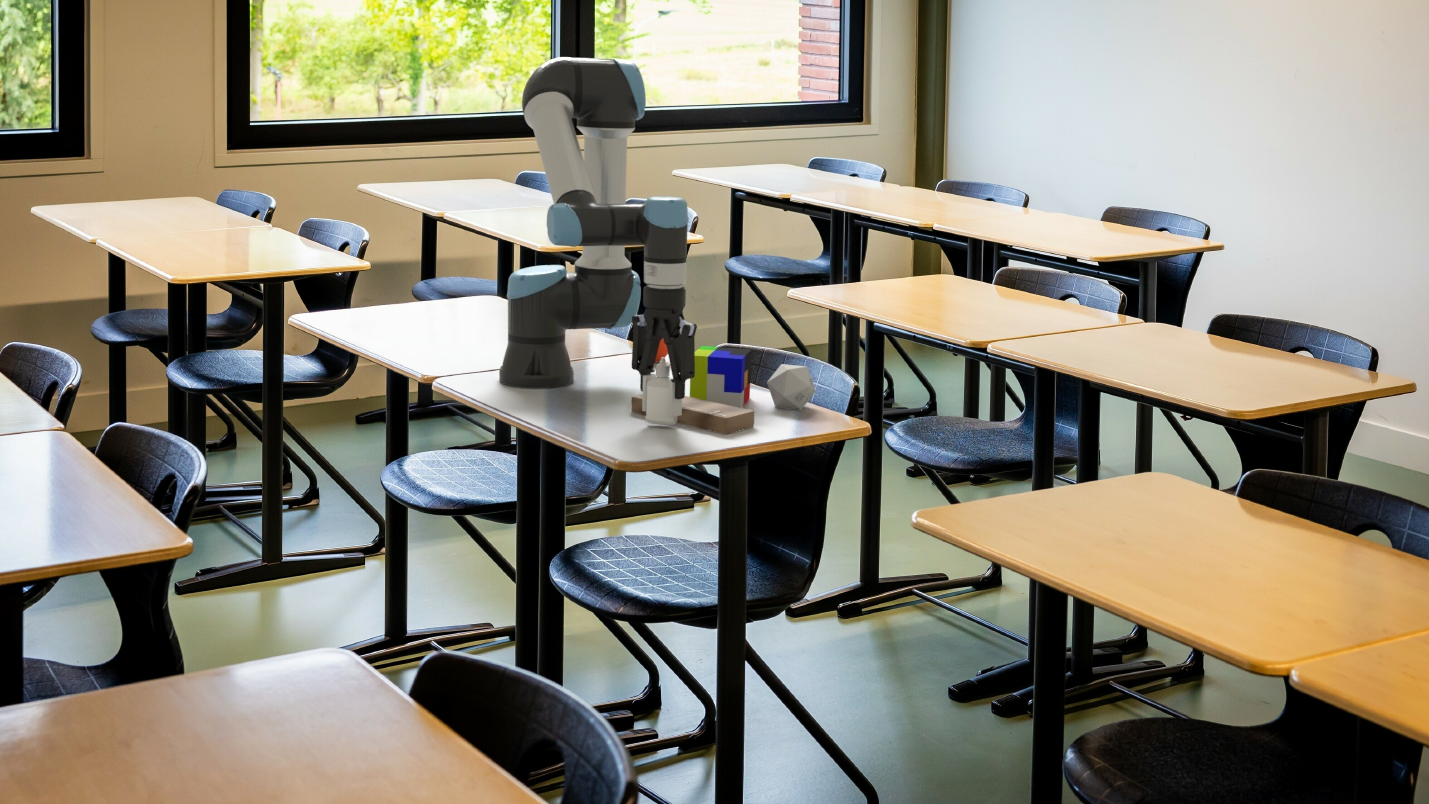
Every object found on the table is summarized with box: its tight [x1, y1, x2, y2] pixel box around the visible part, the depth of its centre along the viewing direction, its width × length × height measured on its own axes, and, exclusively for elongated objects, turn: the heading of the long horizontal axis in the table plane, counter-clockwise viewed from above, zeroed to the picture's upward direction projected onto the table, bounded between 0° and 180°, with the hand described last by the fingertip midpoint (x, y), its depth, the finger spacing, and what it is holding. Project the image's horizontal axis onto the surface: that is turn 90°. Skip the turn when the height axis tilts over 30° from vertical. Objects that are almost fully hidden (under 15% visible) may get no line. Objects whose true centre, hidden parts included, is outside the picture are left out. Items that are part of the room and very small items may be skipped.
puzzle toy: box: [689, 345, 752, 408], centre depth 274 cm, size 10×10×10 cm
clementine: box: [655, 338, 668, 363], centre depth 311 cm, size 8×7×7 cm
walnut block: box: [630, 393, 755, 435], centre depth 260 cm, size 23×8×3 cm, turn 51°
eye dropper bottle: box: [645, 357, 678, 426], centre depth 253 cm, size 4×6×12 cm
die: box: [766, 363, 817, 411], centre depth 273 cm, size 8×9×10 cm
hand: (661, 412), depth 254 cm, fingers closed on eye dropper bottle, 6 cm apart
